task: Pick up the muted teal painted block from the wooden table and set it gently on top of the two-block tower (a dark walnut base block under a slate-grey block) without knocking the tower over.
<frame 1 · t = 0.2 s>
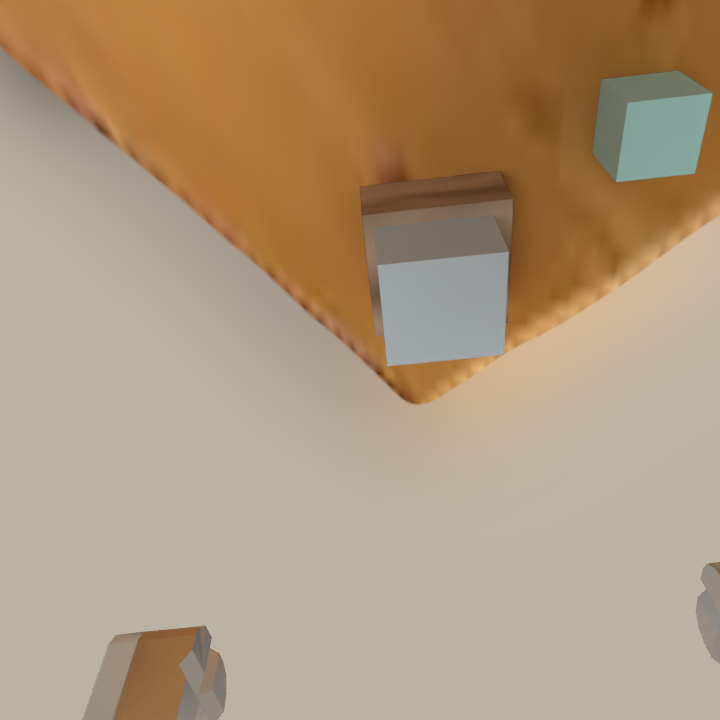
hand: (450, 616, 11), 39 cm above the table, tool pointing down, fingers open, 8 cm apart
teal block: (633, 113, 44), on the table
tower base: (431, 238, 50), on the table, touching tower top
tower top: (434, 272, 46), point 5 cm above the table, touching tower base
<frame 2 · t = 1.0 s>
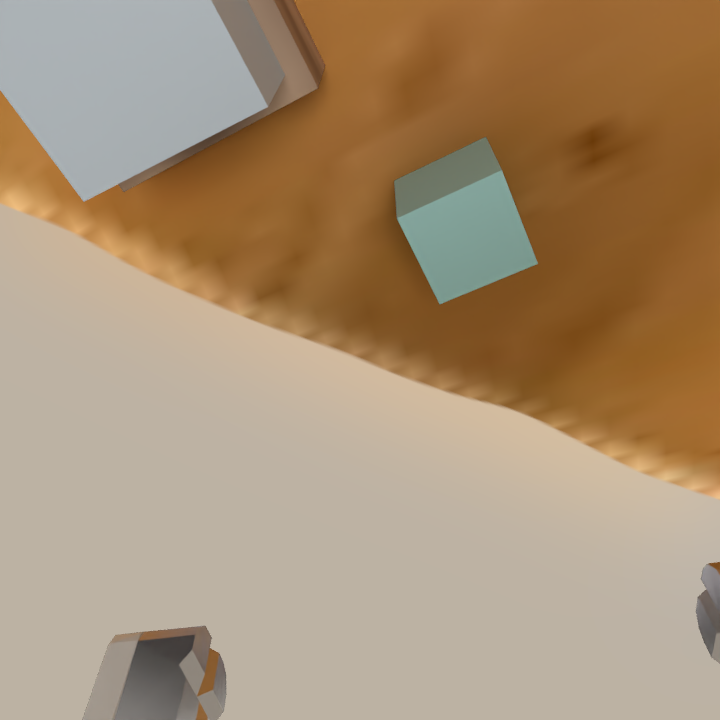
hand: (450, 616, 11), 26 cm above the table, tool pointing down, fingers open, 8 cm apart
teal block: (457, 201, 34), on the table
tower base: (176, 9, 30), on the table, touching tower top
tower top: (145, 22, 25), point 5 cm above the table, touching tower base
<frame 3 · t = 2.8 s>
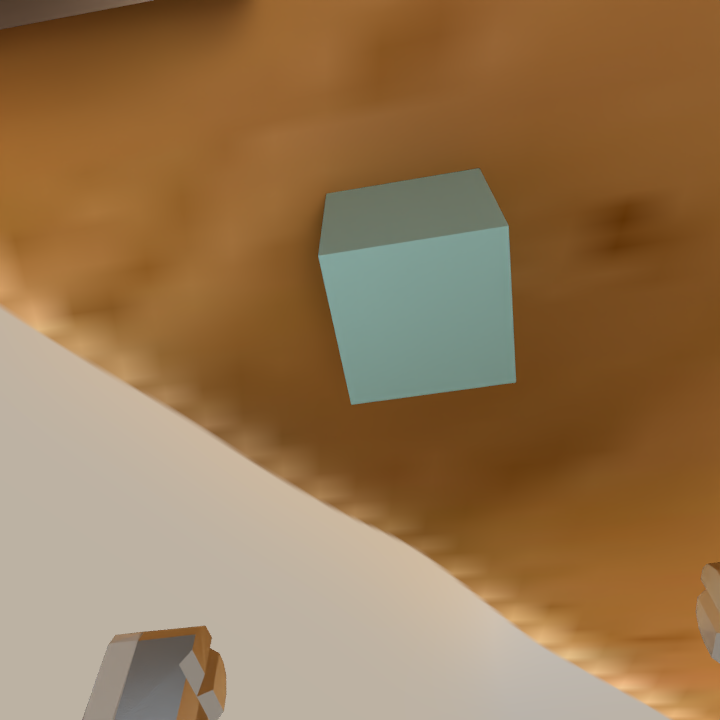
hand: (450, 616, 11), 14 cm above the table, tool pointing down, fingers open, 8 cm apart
teal block: (411, 250, 22), on the table
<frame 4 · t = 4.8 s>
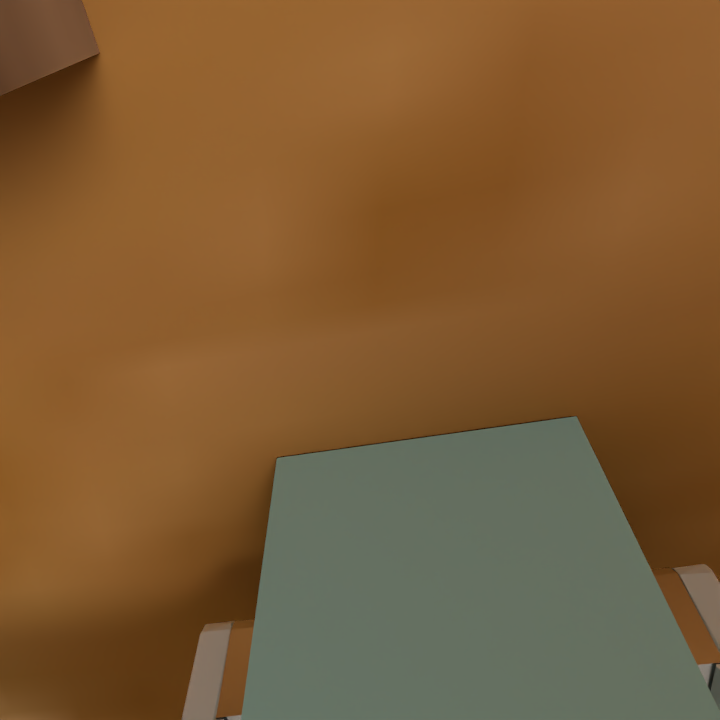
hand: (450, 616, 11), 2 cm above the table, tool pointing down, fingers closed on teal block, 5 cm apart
teal block: (439, 540, 12), on the table, touching gripper
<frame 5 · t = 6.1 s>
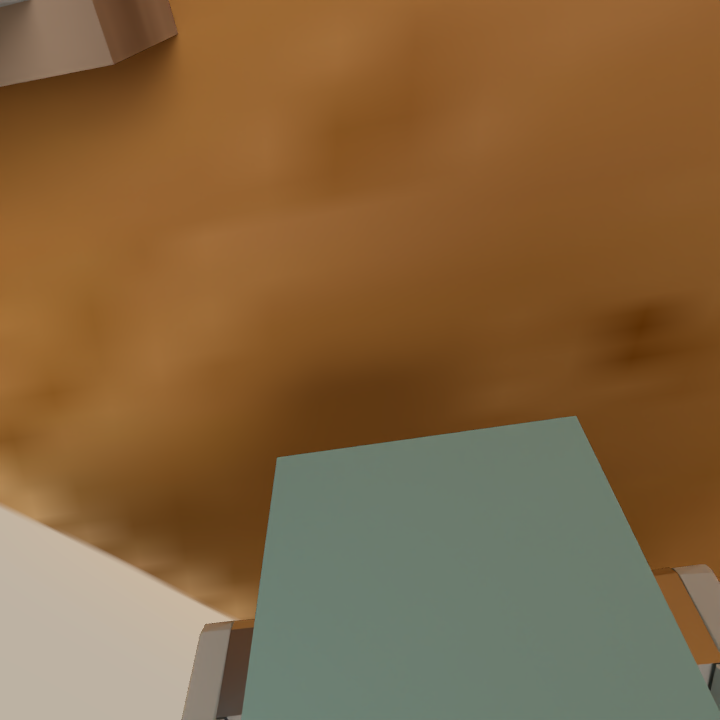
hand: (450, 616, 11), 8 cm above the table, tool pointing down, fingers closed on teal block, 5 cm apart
teal block: (439, 539, 12), point 7 cm above the table, touching gripper
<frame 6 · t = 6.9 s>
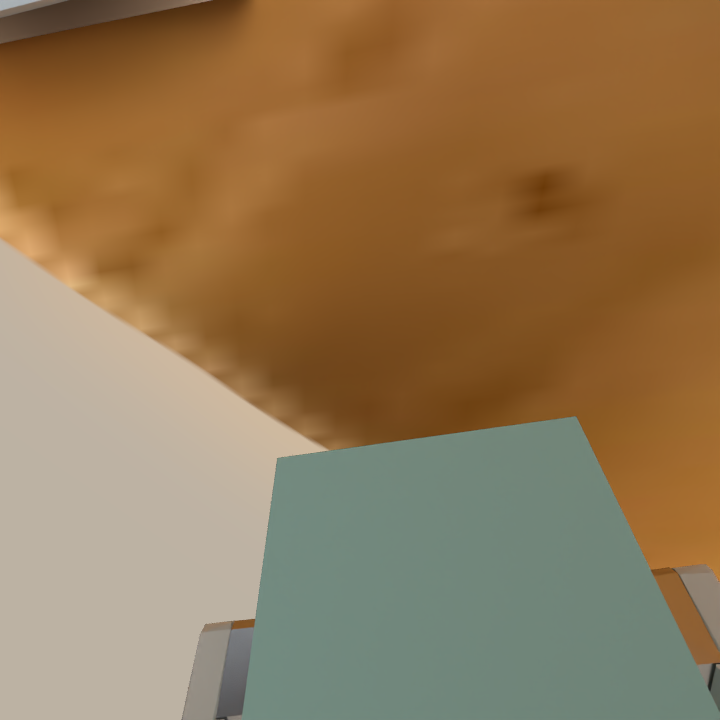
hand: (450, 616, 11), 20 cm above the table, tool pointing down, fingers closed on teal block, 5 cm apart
teal block: (439, 540, 12), point 18 cm above the table, touching gripper
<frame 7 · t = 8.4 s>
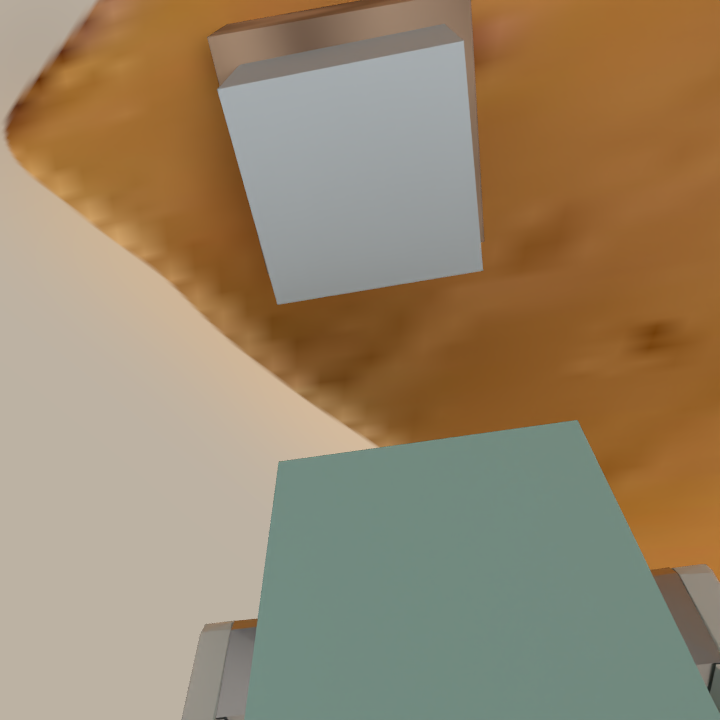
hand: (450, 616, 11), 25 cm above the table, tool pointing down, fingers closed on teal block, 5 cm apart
teal block: (440, 543, 12), point 24 cm above the table, touching gripper
tower base: (356, 120, 31), on the table, touching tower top
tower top: (359, 148, 27), point 5 cm above the table, touching tower base
when the fingers open (13 cm above the table, at t = 12.2 s): teal block drops 2 cm, resting on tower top.
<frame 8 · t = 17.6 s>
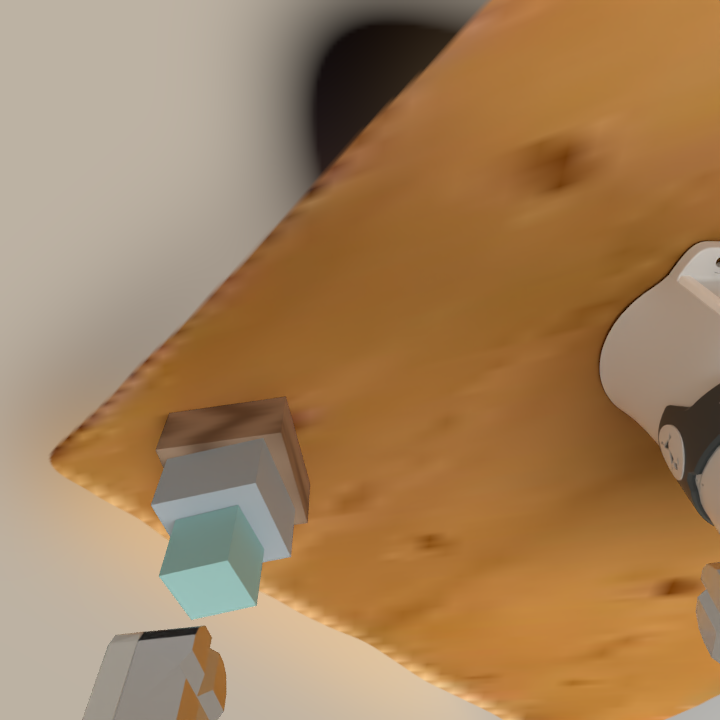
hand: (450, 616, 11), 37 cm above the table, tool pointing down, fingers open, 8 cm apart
teal block: (220, 535, 49), point 10 cm above the table, touching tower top
tower base: (243, 448, 57), on the table, touching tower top
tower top: (233, 485, 53), point 5 cm above the table, touching teal block, tower base
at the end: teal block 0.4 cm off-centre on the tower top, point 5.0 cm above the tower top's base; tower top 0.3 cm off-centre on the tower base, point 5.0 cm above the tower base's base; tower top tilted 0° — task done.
